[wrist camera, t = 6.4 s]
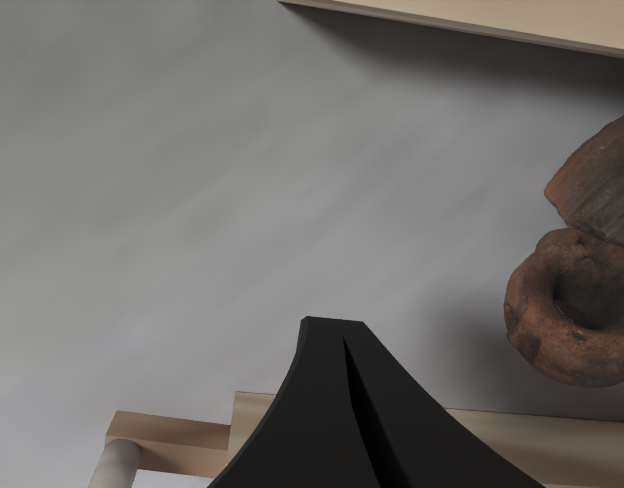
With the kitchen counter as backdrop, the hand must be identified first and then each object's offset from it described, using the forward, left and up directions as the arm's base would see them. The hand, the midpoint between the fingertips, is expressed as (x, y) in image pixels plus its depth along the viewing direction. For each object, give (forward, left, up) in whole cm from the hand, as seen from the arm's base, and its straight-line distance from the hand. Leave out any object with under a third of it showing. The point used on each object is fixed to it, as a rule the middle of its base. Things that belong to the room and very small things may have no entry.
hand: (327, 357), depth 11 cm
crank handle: (-9, +4, -7) cm, 12 cm away
